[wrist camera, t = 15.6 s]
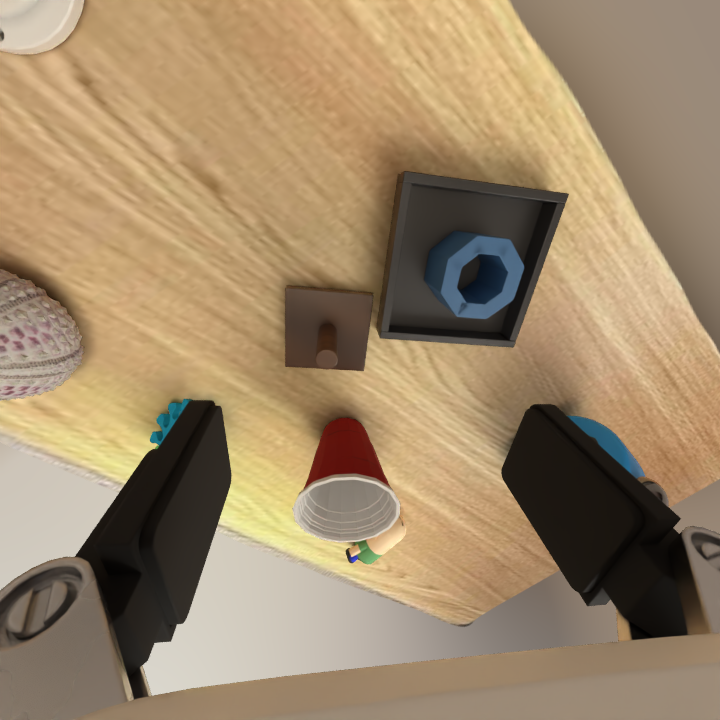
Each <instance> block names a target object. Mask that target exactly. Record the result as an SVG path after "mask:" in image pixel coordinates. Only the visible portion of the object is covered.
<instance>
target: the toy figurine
mask: <svg viewBox="0 0 720 720" xmlns="http://www.w3.org/2000/svg"><path fill="white" fill-rule="evenodd" d="M405 533H406V523H405V521H404V519H403V517H402V516H401V515H399V517H398V519H397V520H396V522H395V523H394V524H393V526H392V527H391V528H390V529H388V530H386V531H385V532H383V533H382V534H380V535H378V536H376V537H373V538H369V539H366V540H362V541H359V542H355V546H353V547H352V548H348V549H347V550H346V555H347V558H348V561H349V562H350V563H354V562H355V561H356V560H357V559H358V560H360V561H362V562H363V563H365V564H371V563H373V562H374V561H375V560H377V559H378V558H379V557H380V556H382V555H383V554H384V553H385V552H387V551H388V550H389V549H390V548H392V547H393V546H394V545H395V544H397V543H398V542H399V541H400V540H401V539H402V538H403V537H404V535H405Z"/></svg>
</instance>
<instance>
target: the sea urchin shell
mask: <svg viewBox="0 0 720 720" xmlns="http://www.w3.org/2000/svg"><path fill="white" fill-rule="evenodd" d="M81 339H82V336H81V335H80V334H79V330H78V326H76V325H75V321H74V320H72V317H71V316H70V315H68V314H67V308H65V307H62V306H61V305H60V302H58V301H55V300H53V299H51V298H50V297H48V296H47V294H46V291H45V289H41V288H40V287H36V286H35V284H33V283H32V281H31V280H24V279H20V278H19V277H18V276H17V275H16V274H10V273H9V272H6V271H5V270H3V269H0V401H1V400H11V399H17V398H20V399H23V398H25V397H26V396H34V395H35V394H37V395H41V394H42V393H43V392H48V391H49V390H54V389H55V388H56V386H60V385H62V384H63V382H64V381H65V380H67V379H69V378H70V377H71V373H72V372H74V371H75V370H76V368H77V366H78V365H80V364H82V363H81V360H82V359H83V358H82V356H81V355H82V354H83V353H84V351H83V348H84V347H83V346H82V345H81V344H80V340H81Z"/></svg>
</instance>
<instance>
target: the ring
mask: <svg viewBox="0 0 720 720" xmlns="http://www.w3.org/2000/svg"><path fill="white" fill-rule="evenodd" d="M476 256H478V258H479V259H480V261H481V264H480V268H479V271H478V275H477V279H476V280H474V281H473V282H472V283H470V284H469V285H468V286H467V287H465V288H464V289H463V290H461V289H457V285H458V281H459V277H460V273H461V269H462V267H463V266H464V265H466V264H467V263H468V262H469V261H471V260H472V259H473V258H475V257H476ZM523 270H524V265H523V263H522V261H521V259H520V257H519V255H518V253H517V251H516V249H515V247H514V245H513V243H512V242H511V240H510V239H507V238H502V237H496V236H491V235H485V234H479V233H470V232H461V231H453V232H452V233H451V234H450V235H448V236H447V237H446V238H445V239H443V240H442V241H441V242H440V243H438V244H437V245H436V246H435V247H434V248H432V249H431V250H430V251H429V256H428V261H427V267H426V272H425V277H424V281H425V282H426V284H427V285H428V286H429V288H430V289H431V291H432V292H433V294H434V295H435V296H436V298H437V299H438V301H440V302H441V303H442V304H443V305H444V306H445V307H446V308H447V309H449V310H450V311H451V312H452V313H453V314H454V315H455V316H457V317H466V318H478V319H487V318H489V317H490V316H491V315H493V314H494V313H496V312H497V311H498V310H500V309H501V308H503V307H504V306H505V305H507V304H508V303H510V302H511V301H512V300H513V299H514V297H515V294H516V291H517V288H518V285H519V282H520V279H521V276H522V273H523Z"/></svg>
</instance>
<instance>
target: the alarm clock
mask: <svg viewBox="0 0 720 720" xmlns="http://www.w3.org/2000/svg"><path fill="white" fill-rule="evenodd" d="M567 417H569V418H570V419H571V420H572V421H573V422H574V423H575V424H576V425H577V426H579V427H580V428H581V429H582V430H583V431H584V432H585V433H586V434H587V435H589V436H590V437H591V438H592V439H593V440H594V441H595V442H596V443H597V444H599V445H600V446H601V447H602V448H603V449H604V450H605V451H606V452H607V453H609V454H610V455H611V456H612V457H613V458H614V459H615V460H616V461H617V462H619V463H620V464H621V465H622V466H623V467H624V468H625V469H626V470H627V471H629V472H630V473H631V474H632V475H633V476H634V477H635V478H636V479H637V480H639V481H640V482H641V483H642V484H643V485H644V486H645V487H646V488H647V489H649V490H650V491H651V492H652V493H653V494H654V495H655V496H656V497H657V498H659V499H660V500H661V501H662V502H663V503H664V504H665V505H666V506H668V507H669V505H668V498H667V495H666V493H665V491H664V489H663V488H662V487H661V486H660V485H659V484H658V483H657V482H655V481H654V480H652V479H650V478H647V477H645V475H644V472H643V470H642V468H641V466H640V465H639V463H638V462H637V461H636V459H635V458H634V457H633V455H632V454H631V453H630V452H629V450H628V449H627V448H626V446H625V445H624V444H623V442H622V441H621V440H620V439H619V438H618V436H617V435H616V434H615V433H613V432H612V431H611V430H610V429H608V428H607V427H606V426H604V425H602V424H600V423H598V422H596V421H594V420H591V419H588V418H584V417H579V416H567Z"/></svg>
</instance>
